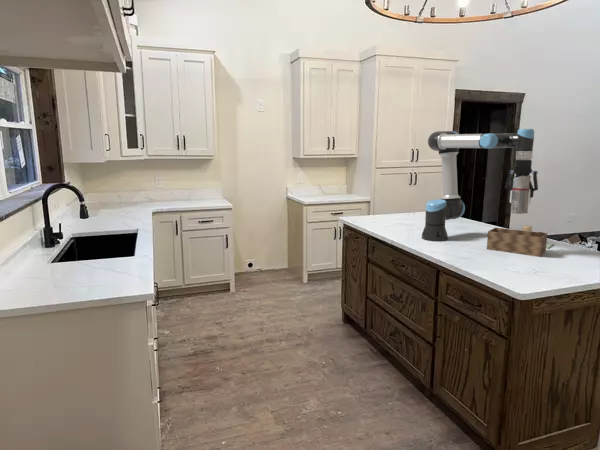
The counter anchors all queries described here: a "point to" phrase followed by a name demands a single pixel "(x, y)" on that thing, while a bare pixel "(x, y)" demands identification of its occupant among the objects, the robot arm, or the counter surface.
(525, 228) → the lid
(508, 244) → the wooden box
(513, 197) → the spray can
